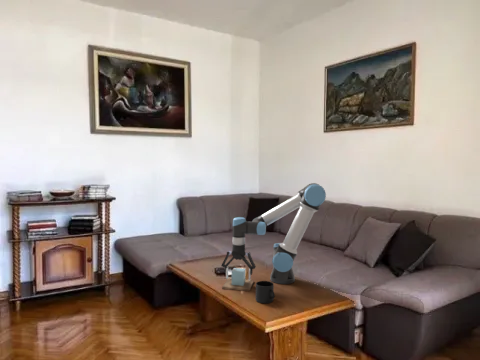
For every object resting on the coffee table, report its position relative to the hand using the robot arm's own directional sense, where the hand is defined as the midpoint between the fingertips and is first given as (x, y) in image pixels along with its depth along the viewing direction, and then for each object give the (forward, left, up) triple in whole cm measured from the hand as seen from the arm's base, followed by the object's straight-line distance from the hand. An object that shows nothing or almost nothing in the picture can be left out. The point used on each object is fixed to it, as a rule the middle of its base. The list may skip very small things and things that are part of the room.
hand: (238, 279), depth 221 cm
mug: (-19, +21, -4) cm, 29 cm away
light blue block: (0, 0, -3) cm, 3 cm away
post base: (0, 0, -4) cm, 4 cm away
